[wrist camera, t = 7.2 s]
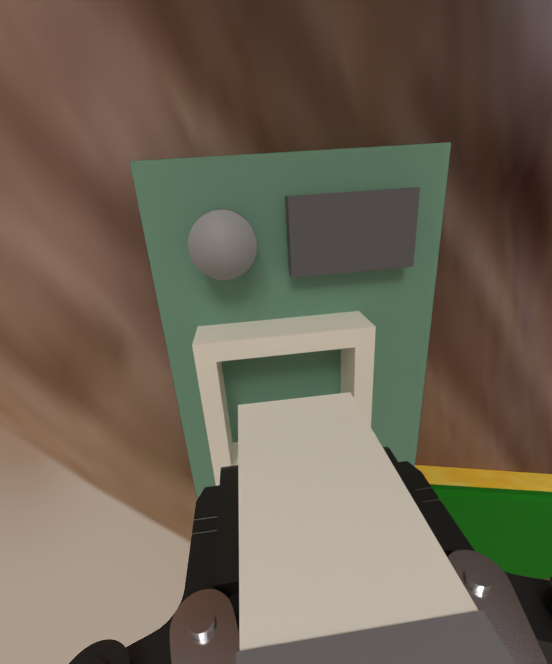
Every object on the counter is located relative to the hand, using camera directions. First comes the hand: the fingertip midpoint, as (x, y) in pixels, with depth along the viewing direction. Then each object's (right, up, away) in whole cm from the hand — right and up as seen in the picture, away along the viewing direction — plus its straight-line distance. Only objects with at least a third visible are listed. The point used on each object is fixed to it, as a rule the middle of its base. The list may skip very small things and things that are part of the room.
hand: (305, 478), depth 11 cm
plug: (0, +1, +2) cm, 2 cm away
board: (0, +5, +6) cm, 7 cm away
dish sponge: (+13, -7, +12) cm, 19 cm away
